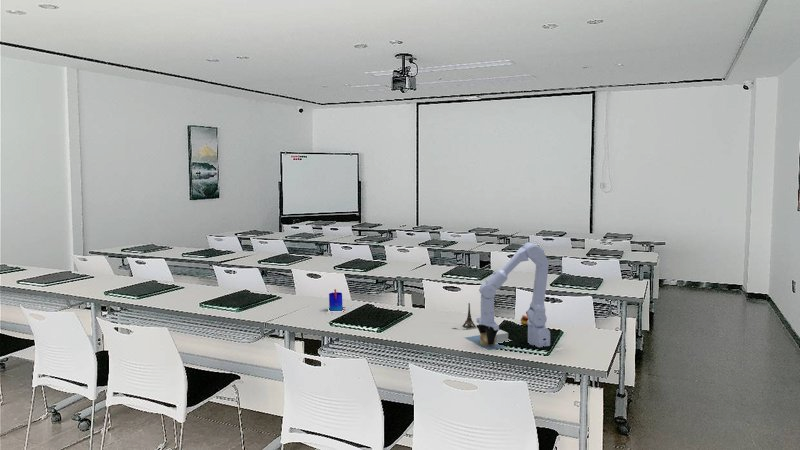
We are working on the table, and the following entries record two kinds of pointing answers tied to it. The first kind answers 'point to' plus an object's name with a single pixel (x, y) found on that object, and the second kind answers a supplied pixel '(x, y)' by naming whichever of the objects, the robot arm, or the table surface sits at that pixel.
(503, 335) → the base block
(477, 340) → the board
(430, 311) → the table surface
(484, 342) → the wooden cube
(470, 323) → the eiffel tower figurine
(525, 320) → the small brown rounded figure
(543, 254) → the robot arm
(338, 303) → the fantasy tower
